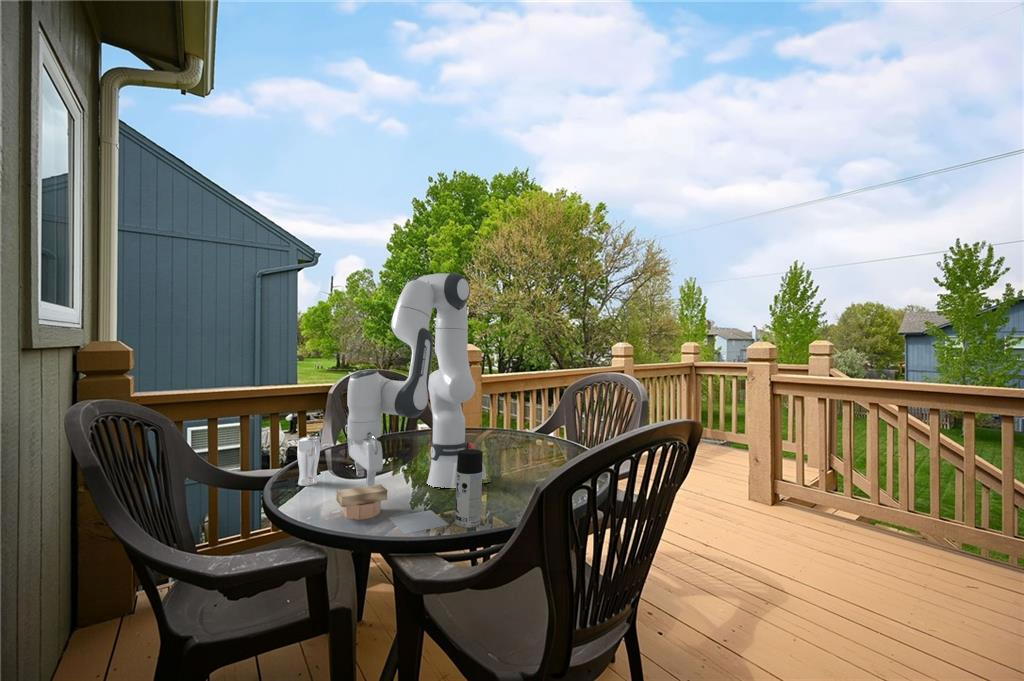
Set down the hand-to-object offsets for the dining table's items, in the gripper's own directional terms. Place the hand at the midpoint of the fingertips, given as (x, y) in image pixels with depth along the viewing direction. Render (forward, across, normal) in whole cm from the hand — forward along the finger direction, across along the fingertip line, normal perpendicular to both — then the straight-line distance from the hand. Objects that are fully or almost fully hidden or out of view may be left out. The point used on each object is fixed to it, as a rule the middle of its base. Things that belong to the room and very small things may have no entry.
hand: (365, 480), depth 128 cm
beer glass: (+10, +40, +8) cm, 42 cm away
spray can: (+11, -20, -21) cm, 31 cm away
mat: (+10, -13, -10) cm, 20 cm away
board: (+5, 0, +1) cm, 5 cm away
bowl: (+10, 0, +1) cm, 10 cm away
